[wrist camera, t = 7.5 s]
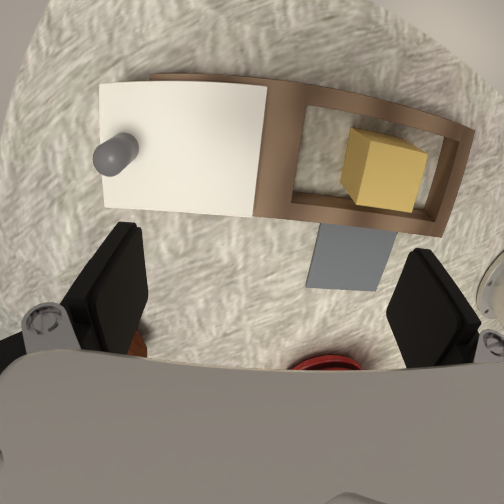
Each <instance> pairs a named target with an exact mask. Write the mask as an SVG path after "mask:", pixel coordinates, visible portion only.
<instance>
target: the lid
mask: <svg viewBox="0 0 504 504" xmlns="http://www.w3.org/2000/svg"><path fill="white" fill-rule="evenodd" d="M266 94H267V86H261V85H251V84H239V83H226V82H208V81H129V82H112V83H102V84H99V125H100V145H99V146H98V147H97V148H96V149H95V151H94V154H93V163H94V166H95V168H96V170H97V171H98V172H99V173H100V174H102V182H103V194H104V204H105V207H106V208H125V209H142V210H157V211H172V212H186V213H200V214H213V215H225V216H237V217H249V218H252V214H253V205H254V197H255V188H256V179H257V171H258V162H259V154H260V145H261V137H262V128H263V120H264V111H265V103H266Z"/></svg>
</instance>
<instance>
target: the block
mask: <svg viewBox="0 0 504 504" xmlns="http://www.w3.org/2000/svg"><path fill="white" fill-rule="evenodd" d="M427 158H428V154H427V153H426V152H424V151H422V150H421V149H419V148H417V147H416V146H414V145H412V144H411V143H409V142H407V141H406V140H404V139H402V138H398V137H394V136H389V135H385V134H381V133H376V132H372V131H367V130H362V129H357V128H352V127H351V129H350V135H349V140H348V145H347V150H346V155H345V160H344V165H343V170H342V174H341V179H340V182H341V184H342V185H343V187H344V188H345V189H346V191H347V192H348V194H349V195H350V197H351V198H352V199H353V201H354V202H355V204H356V205H363V206H370V207H377V208H384V209H390V210H397V211H403V212H410V213H412V210H413V207H414V204H415V200H416V197H417V194H418V190H419V187H420V184H421V180H422V177H423V173H424V169H425V166H426V162H427Z"/></svg>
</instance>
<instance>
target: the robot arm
mask: <svg viewBox="0 0 504 504" xmlns="http://www.w3.org/2000/svg"><path fill="white" fill-rule="evenodd" d="M147 300H148V285H147V277H146V268H145V259H144V249H143V238H142V230H141V228H140V227H137V225H136V223H132V222H118V223H117V225H116V226H115V227H114V228H113V230H112V231H111V232H110V234H109V235H108V236H107V238H106V239H105V240H104V242H103V243H102V244H101V246H100V247H99V249H98V250H97V251H96V253H95V254H94V255H93V257H92V258H91V259H90V260H89V261H88V263H87V264H86V266H85V267H84V269H83V270H82V271H81V273H80V274H79V276H78V277H77V279H76V280H75V282H74V283H73V285H72V286H71V288H70V289H69V291H68V292H67V294H66V295H65V297H64V298H63V300H62V301H61V303H60V304H57V303H54V302H46V303H42V304H39V305H36V306H34V307H33V308H31V309H30V310H29V311H28V312H27V313H26V314H25V315H24V317H23V320H22V326H21V328H22V331H21V332H19V333H17V334H14V335H12V336H10V337H7V338H5V339H3V340H0V504H504V337H503V336H502V335H501V334H500V333H498V332H496V331H494V330H490V329H486V330H483V331H482V332H481V333H480V334H479V333H478V331H477V330H478V328H479V327H480V325H481V321H480V319H479V318H478V316H477V315H476V313H475V312H474V310H473V309H472V307H471V306H470V304H469V303H468V301H467V300H466V298H465V297H464V295H463V294H462V292H461V291H460V289H459V288H458V286H457V285H456V284H455V282H454V281H453V279H452V278H451V277H450V275H449V274H448V272H447V271H446V270H445V268H444V267H443V266H442V264H441V263H440V262H439V260H438V259H437V258H436V256H435V255H434V254H433V252H432V251H431V250H430V249H422V248H415V249H414V250H413V251H411V252H410V253H409V255H408V257H407V260H406V263H405V265H404V268H403V271H402V273H401V276H400V278H399V281H398V283H397V286H396V288H395V291H394V293H393V295H392V298H391V300H390V302H389V305H388V307H387V311H386V316H387V319H388V322H389V324H390V327H391V329H392V332H393V334H394V337H395V339H396V342H397V344H398V347H399V349H400V352H401V354H402V357H403V360H404V362H405V365H406V368H405V369H385V370H347V371H316V370H278V369H258V368H241V367H228V366H216V365H205V364H195V363H186V362H177V361H169V360H160V359H153V358H145V357H138V356H131V355H127V353H128V351H129V348H130V345H131V342H132V340H133V337H134V334H135V332H136V329H137V326H138V324H139V321H140V318H141V316H142V313H143V310H144V308H145V305H146V303H147ZM477 307H478V309H479V311H480V312H481V314H482V315H483V316H485V317H486V318H490V319H493V318H498V319H499V321H500V322H501V324H502V325H503V327H504V252H503V253H502V254H501V255H500V256H499V257H498V258H497V259H496V260H495V261H494V263H493V264H492V265H491V266H490V268H489V269H488V271H487V272H486V274H485V276H484V278H483V279H482V282H481V284H480V286H479V289H478V293H477Z"/></svg>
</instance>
